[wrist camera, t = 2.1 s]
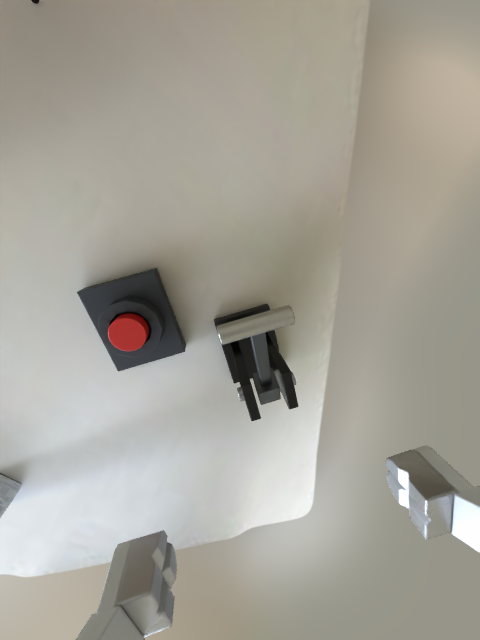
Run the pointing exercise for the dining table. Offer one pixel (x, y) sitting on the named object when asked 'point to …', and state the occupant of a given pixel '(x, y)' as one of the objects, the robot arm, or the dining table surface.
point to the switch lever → (259, 345)
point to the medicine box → (7, 492)
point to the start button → (128, 332)
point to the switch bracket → (245, 365)
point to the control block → (144, 300)
